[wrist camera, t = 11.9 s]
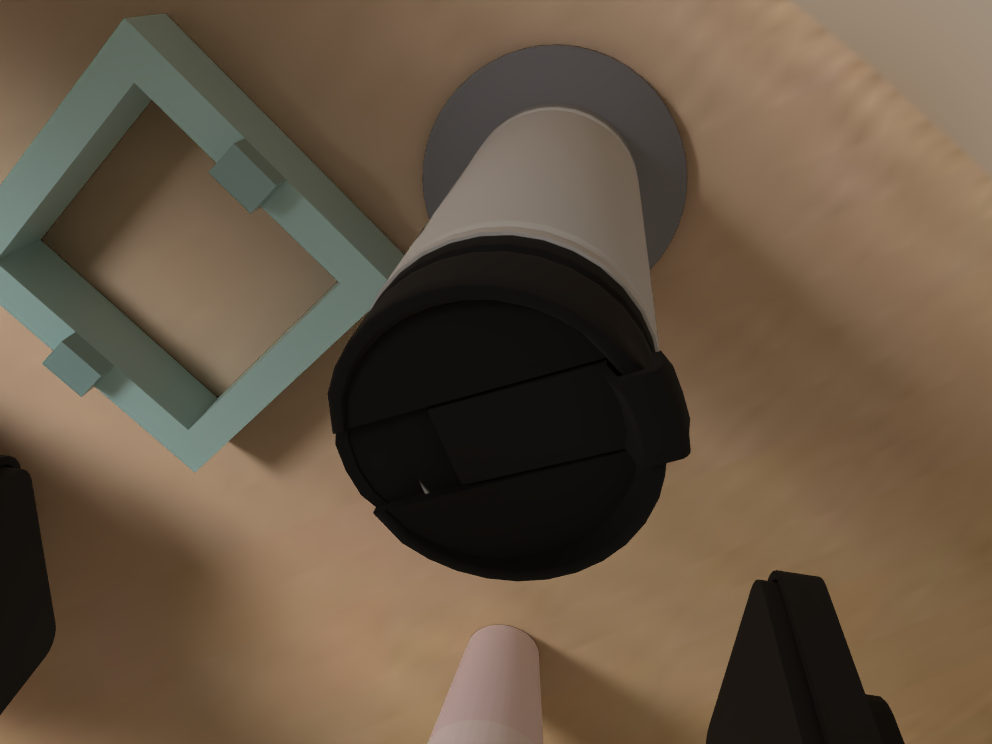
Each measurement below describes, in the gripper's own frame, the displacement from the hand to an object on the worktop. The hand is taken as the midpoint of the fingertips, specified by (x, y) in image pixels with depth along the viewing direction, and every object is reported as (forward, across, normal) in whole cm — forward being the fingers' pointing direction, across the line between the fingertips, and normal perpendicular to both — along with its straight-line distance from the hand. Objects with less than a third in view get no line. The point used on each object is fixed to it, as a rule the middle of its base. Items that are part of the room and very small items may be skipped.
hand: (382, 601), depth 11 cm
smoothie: (+24, -2, +24) cm, 35 cm away
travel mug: (+24, -1, 0) cm, 24 cm away
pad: (+24, -1, 0) cm, 25 cm away
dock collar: (+25, +13, +5) cm, 29 cm away
